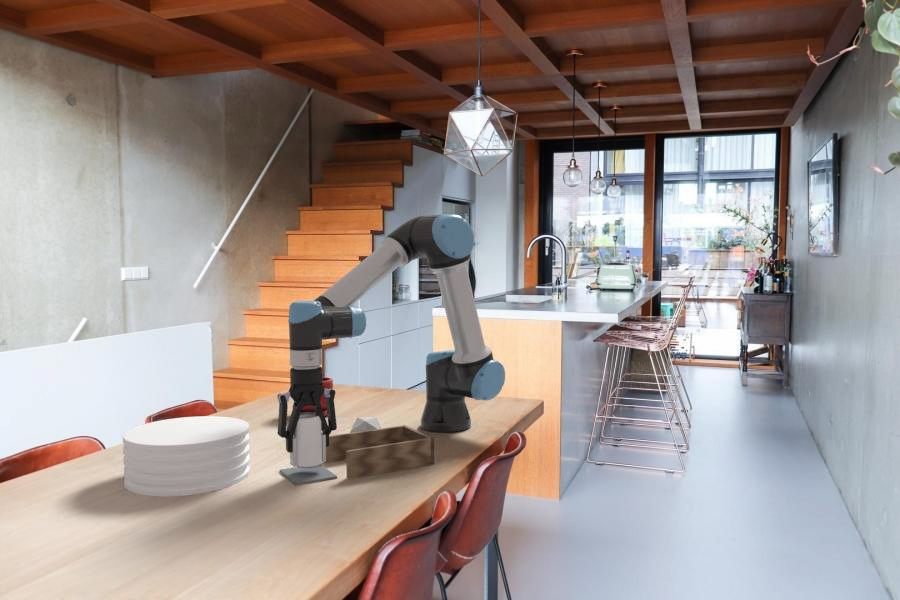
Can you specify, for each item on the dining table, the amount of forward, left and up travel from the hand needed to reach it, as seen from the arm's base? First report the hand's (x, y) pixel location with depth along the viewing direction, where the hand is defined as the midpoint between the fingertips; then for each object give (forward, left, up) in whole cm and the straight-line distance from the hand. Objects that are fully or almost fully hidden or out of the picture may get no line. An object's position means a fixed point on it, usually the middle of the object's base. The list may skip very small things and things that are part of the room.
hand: (308, 462), depth 172 cm
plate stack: (+25, -14, -3) cm, 28 cm away
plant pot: (-23, -60, -3) cm, 64 cm away
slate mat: (0, 0, -3) cm, 3 cm away
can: (0, 0, -1) cm, 1 cm away
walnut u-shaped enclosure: (-18, 0, -3) cm, 19 cm away
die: (-22, -15, -3) cm, 27 cm away
